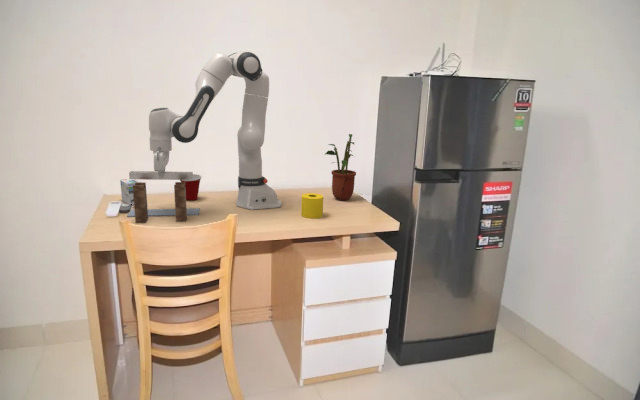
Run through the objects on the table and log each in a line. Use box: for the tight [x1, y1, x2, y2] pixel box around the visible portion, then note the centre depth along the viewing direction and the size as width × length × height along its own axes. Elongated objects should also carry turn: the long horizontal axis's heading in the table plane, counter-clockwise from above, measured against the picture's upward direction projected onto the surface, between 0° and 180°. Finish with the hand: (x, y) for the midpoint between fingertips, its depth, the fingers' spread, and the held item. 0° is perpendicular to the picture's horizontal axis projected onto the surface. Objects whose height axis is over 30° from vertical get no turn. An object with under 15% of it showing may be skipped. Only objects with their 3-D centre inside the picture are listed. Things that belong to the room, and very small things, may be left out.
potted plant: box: [324, 133, 357, 201], centre depth 219 cm, size 17×16×35 cm
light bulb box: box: [119, 178, 141, 206], centre depth 201 cm, size 11×7×11 cm, turn 44°
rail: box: [128, 170, 194, 181], centre depth 184 cm, size 26×3×3 cm, turn 103°
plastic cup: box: [179, 173, 202, 202], centre depth 210 cm, size 11×11×12 cm
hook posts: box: [133, 181, 188, 224], centre depth 177 cm, size 20×6×16 cm, turn 103°
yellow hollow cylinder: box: [300, 192, 324, 220], centre depth 194 cm, size 10×10×9 cm
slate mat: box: [126, 207, 201, 218], centre depth 189 cm, size 30×9×1 cm, turn 103°
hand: (162, 177), depth 184 cm, fingers closed on rail, 3 cm apart
